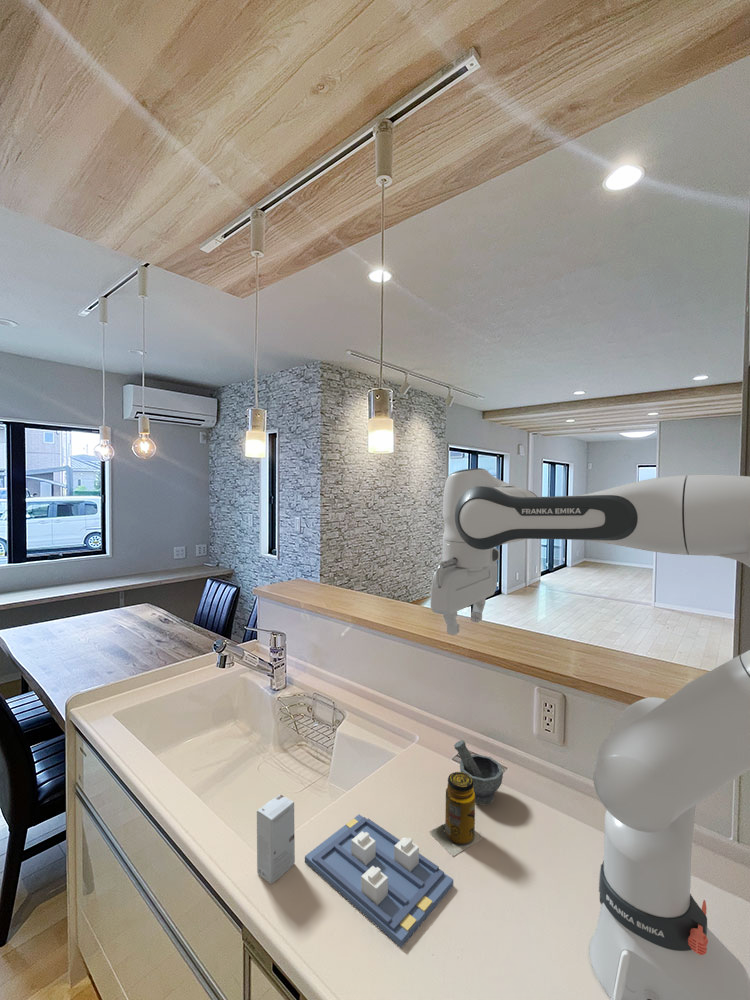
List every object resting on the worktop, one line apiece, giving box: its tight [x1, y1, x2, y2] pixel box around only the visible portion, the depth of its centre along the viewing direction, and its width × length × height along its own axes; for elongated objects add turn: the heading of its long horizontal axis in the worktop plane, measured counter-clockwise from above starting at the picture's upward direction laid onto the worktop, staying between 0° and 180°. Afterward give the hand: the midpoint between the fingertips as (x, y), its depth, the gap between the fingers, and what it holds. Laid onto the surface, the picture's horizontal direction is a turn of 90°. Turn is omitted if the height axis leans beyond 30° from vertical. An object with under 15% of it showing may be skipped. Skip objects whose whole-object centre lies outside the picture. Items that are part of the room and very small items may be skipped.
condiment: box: [429, 771, 485, 857], centre depth 95 cm, size 7×8×12 cm
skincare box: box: [256, 794, 296, 885], centre depth 87 cm, size 6×4×12 cm
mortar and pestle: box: [453, 739, 504, 806], centre depth 107 cm, size 11×9×12 cm
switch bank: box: [304, 813, 454, 948], centre depth 86 cm, size 24×15×2 cm, turn 48°
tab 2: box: [361, 866, 388, 906], centre depth 80 cm, size 4×3×4 cm
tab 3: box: [394, 836, 420, 872], centre depth 86 cm, size 4×3×4 cm
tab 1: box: [351, 831, 376, 865], centre depth 88 cm, size 4×3×4 cm
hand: (465, 627), depth 87 cm, fingers open, 8 cm apart
